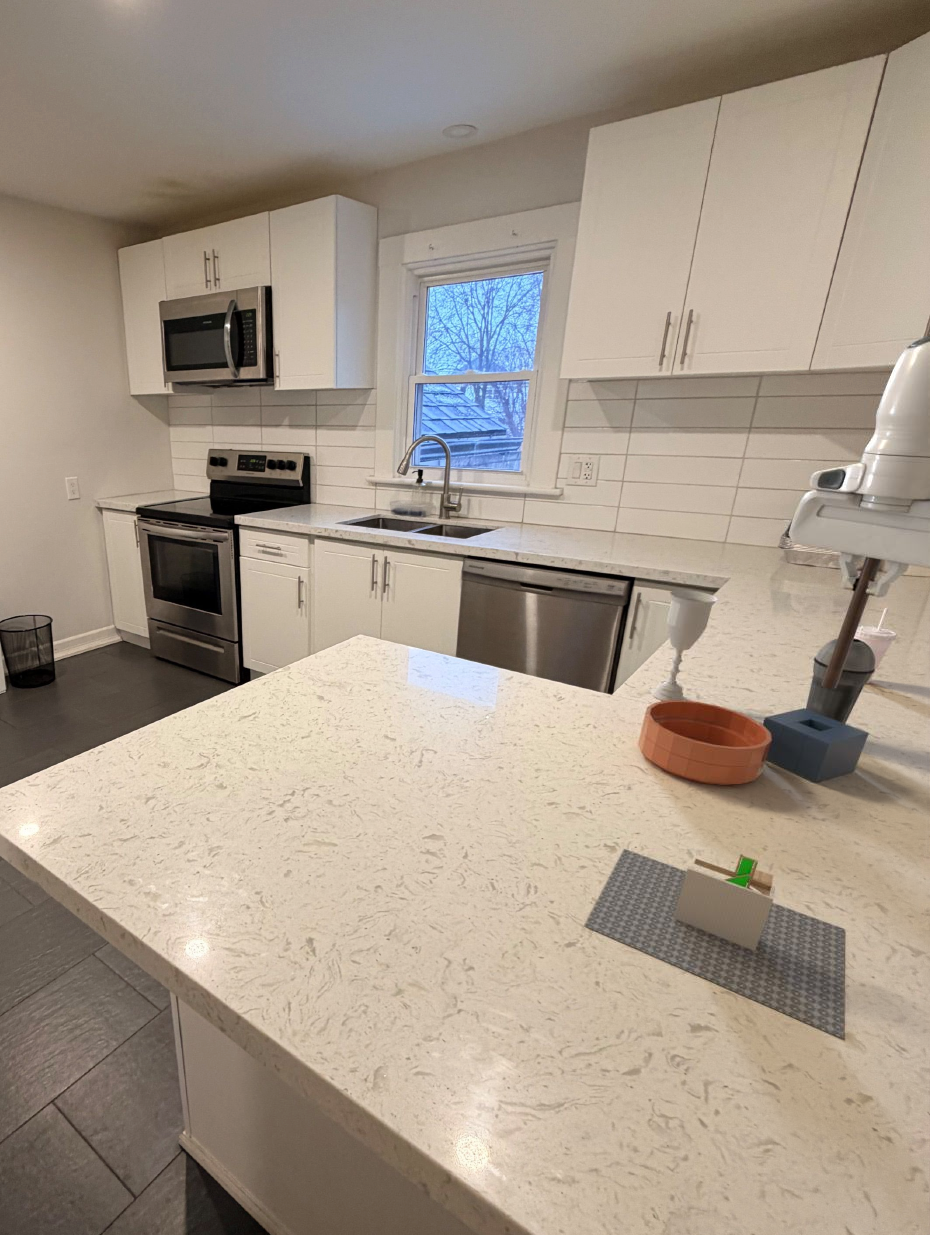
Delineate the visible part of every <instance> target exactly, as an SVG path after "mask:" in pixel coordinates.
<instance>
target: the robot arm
mask: <svg viewBox="0 0 930 1235" xmlns="http://www.w3.org/2000/svg"><path fill="white" fill-rule="evenodd" d="M874 429H875V430H874V432H873V435H872V437H871V439H870V440H869V442H868V444H867V445H866V447H864V448H865V449H864V450H863V454H862V456H861V460H860V461H859V462H857V463H852V464H847V465H843V466H838V467H833V468H828V469H823V470H818V471H814V473H812V474H811V477H810V480H809V487H810V488H811V489H812V490H810V491H808V492H807V493H805V494H804V495H803V496H802V497H801V499H800V502H799V504H798V505H797V507H796V510H795V512H794V515H793V517H792V521H791V524H790V527H789V530H788V536H789V538H790V541H791V543H792V544H795V545H800V546H805V547H812V548H815V549H816V548H817V549H822V550H828V551H833V552H837V553H838V552H839V553H840V555H839V559H838V564H839V566H840V570H841V573H842V576H843V577H842V580H841V584H840V589H841V590H846V591H851V592H854V590H855V587H856V585H857V582H858V579H859V576H860V575H859V574H858V568H857V564H856V563H858V562H861V561H862V557H865V558H866V557H870V558H876V559H881V560H882V561H886V563H885V566H884V570H886V571H887V572H886V573H885V574H884V575H883V576H882V577H881V578H880V579H875V581H869V584H868V589H867V590H866V594H867V595H869V596H872V597H876V598H884V597H886V596H887V594H888V592H889V589H890V587H891V583H892V584H893V583H894V582H896V580H898V579H899V578H900V577H901V576H902V575H904V574H905V573H907V571H908V569H909V566H913V567H919V568H925V569H930V335H929V336H925V337H921V338H920V339H918V340H915V341H914V342H912V343H911V344H909V345H908V346H907V347H906V348H905V349H904V350H903V352H902V353H901V355H900V356H899V357H898V360H897V361H896V363H895V365H894V368H893V369H892V371H891V374H890V376H889V378H888V381H887V383H886V386H885V388H884V390H883V393H882V396H881V398H880V402H879V405H878V408H877V410H876V414H875V428H874Z"/></svg>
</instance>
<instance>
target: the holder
mask: <svg viewBox="0 0 930 1235" xmlns="http://www.w3.org/2000/svg"><path fill="white" fill-rule="evenodd" d="M762 725H764V726H765V727H766V728H767V729H768V731H769V732H770V733H771V737H772V742H771V745H770V748H769V751H768V754H767V757H766V760H765V761H767V762H769V763H771V764H774V765H776V766H778V767H780V768H782V769H784V770H787V771H789V772H791V773H793V774H794V775H797V776H799V777H801V778H803V779H805V780H807V781H809V782H812V783H814V784H817V783H820V782H824V781H827V780H830V779H833V778H837V777H840V776H843V775H846V774H850V773H854V772H855V771H856V769H857V765H858V762H859V760H860V757H861V755H862V752H863V749H864V747H865V744H866V741H867V740H868V736H869V734H870V733H869V732H868V731H864V730H862V729H860V728H856V727H854V726H851V725H850V724H849V725H848V724H846V723H845V724H844V723H841V722H838V721H836V720H833V719H831V718H828V717H825V716H823V715H820V714H818V713H815V712H813V711H810V710H807V709H806V707H803V708H797V709H795V710H789V711H786V712H782V713H777V714H773V715H768V716H765V717H764V720H763V723H762Z"/></svg>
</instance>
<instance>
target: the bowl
mask: <svg viewBox="0 0 930 1235" xmlns="http://www.w3.org/2000/svg"><path fill="white" fill-rule="evenodd" d="M771 742H772V737H771V733H770V732H769V731H768V729H767V728H766V727H765V726H764V725H763V723H760V722H759V721H757V720H756V719H755V718H753V717H751V716H748V715H745V714H743V713H741V712H739V711H736V710H733V709H729V708H726V707H723V706H719V705H716V704H711V703H705V702H701V701H694V700H693V701H692V700H669V701H663V700H660V701H657V702H654V703H652V704H650V705H648V706H647V707H646V709H645V713H644V717H643V721H642V725H641V730H640V734H639V739H638V742H637V746H638V749H639V750H640V752H641V754H642V755H644V757H646V758H647V759H648V760H649V761H650V762H652V763H653V764H654V765H656V766H657V767H659V768H661V769H663V770H664V771H666V772H667V773H670V774H672V775H675V776H678V777H681V778H683V779H687V780H689V781H694V782H698V783H703V784H710V785H720V786H721V785H722V786H726V785H727V786H728V785H730V786H731V785H736V784H737V785H740V784H745V783H749V782H753V781H756V779H758V778H759V777H760V776H761V775H762V773H763V769H764V766H765V763H766V761H767V760H766V757H767V754H768V751H769V748H770V745H771Z"/></svg>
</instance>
